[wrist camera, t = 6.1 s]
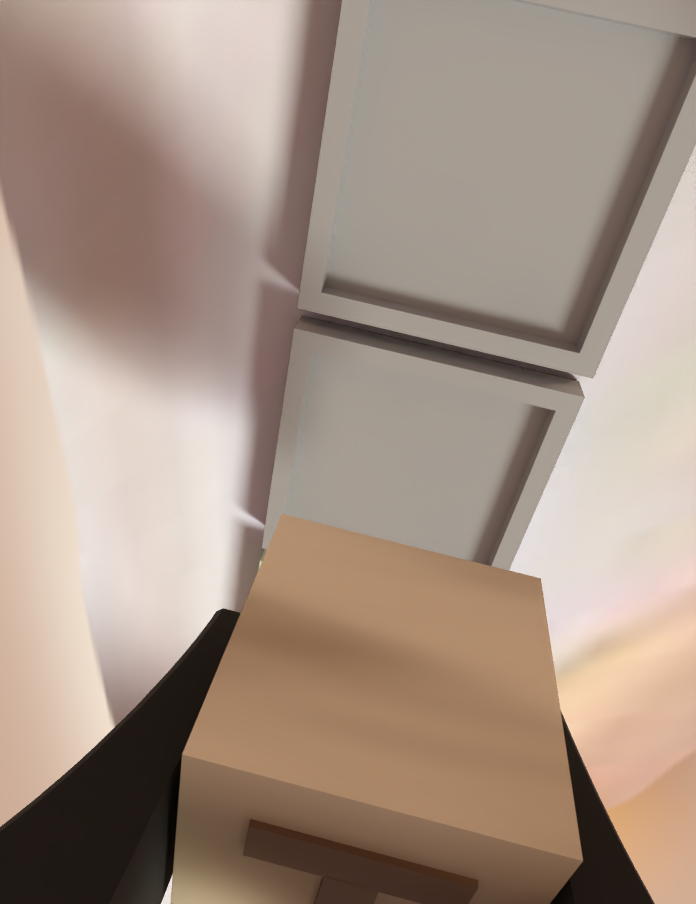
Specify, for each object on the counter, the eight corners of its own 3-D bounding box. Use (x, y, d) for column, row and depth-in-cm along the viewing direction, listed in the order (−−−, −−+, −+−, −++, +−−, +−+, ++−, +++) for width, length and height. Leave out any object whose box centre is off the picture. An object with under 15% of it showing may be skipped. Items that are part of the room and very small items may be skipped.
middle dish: (492, 585, 19) (493, 605, 18) (269, 529, 19) (261, 547, 19) (579, 381, 15) (584, 397, 15) (302, 315, 16) (294, 328, 15)
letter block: (464, 738, 13) (463, 1020, 9) (253, 684, 14) (165, 937, 10) (540, 578, 11) (584, 870, 7) (282, 513, 11) (179, 761, 7)
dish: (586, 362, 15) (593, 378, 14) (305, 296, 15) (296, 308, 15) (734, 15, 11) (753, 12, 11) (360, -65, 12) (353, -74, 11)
